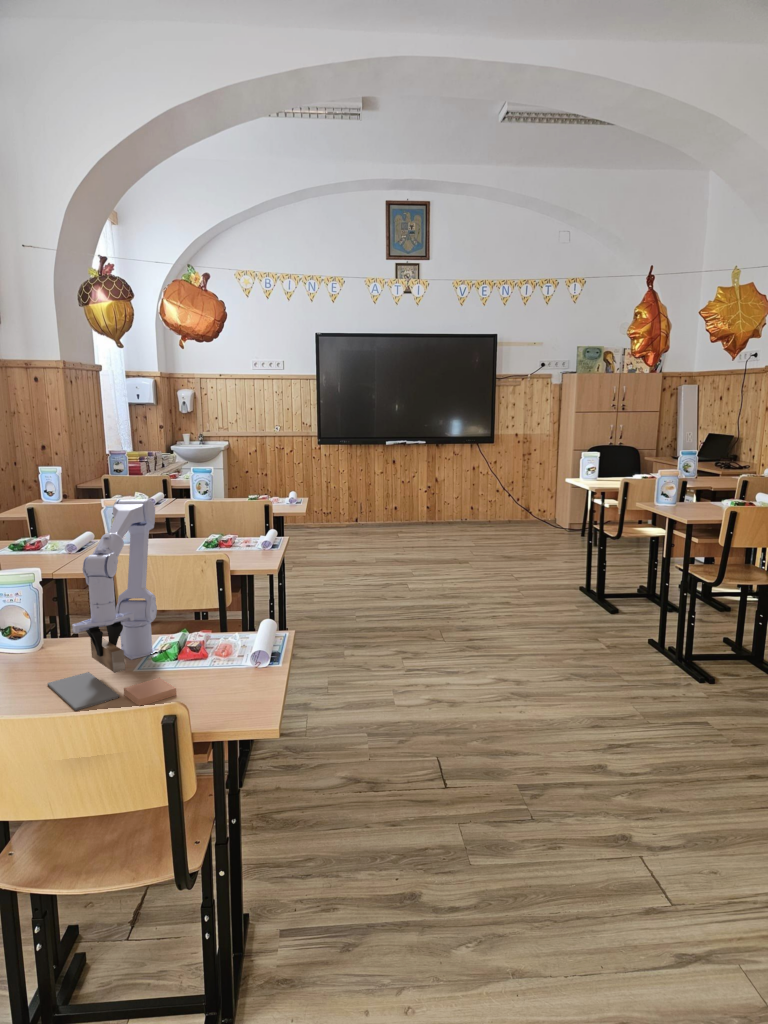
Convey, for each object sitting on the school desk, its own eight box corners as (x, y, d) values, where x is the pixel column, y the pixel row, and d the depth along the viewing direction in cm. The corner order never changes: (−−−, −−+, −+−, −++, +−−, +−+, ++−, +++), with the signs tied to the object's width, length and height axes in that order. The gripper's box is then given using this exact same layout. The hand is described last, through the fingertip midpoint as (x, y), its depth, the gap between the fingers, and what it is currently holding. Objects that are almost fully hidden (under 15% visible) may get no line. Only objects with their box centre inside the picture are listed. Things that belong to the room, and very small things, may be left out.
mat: (47, 685, 162) (47, 682, 162) (88, 674, 169) (88, 671, 169) (75, 710, 148) (75, 708, 148) (119, 697, 154) (119, 695, 154)
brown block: (91, 657, 167) (90, 638, 167) (101, 654, 169) (100, 636, 169) (114, 673, 157) (113, 653, 156) (125, 670, 159) (123, 650, 158)
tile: (123, 688, 156) (139, 699, 149) (159, 677, 162) (175, 688, 156) (124, 696, 156) (139, 708, 150) (159, 685, 162) (176, 696, 156)
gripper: (78, 611, 153) (82, 665, 155) (137, 599, 163) (141, 650, 165) (67, 605, 158) (71, 658, 160) (126, 593, 168) (129, 643, 170)
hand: (106, 653), depth 163 cm, fingers closed on brown block, 2 cm apart
